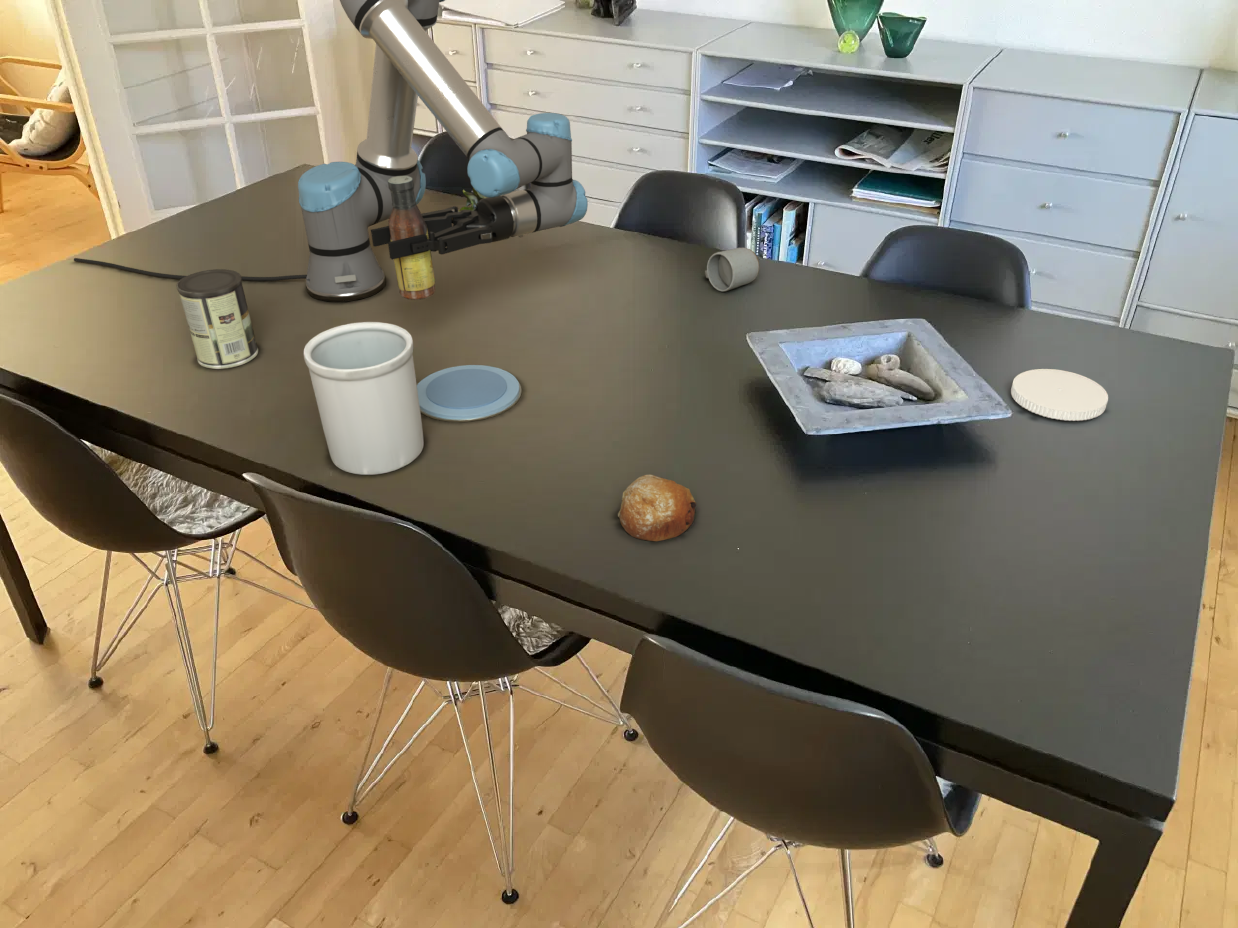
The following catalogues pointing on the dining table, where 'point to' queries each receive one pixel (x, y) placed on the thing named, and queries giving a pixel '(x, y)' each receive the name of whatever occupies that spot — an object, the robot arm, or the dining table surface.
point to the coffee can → (218, 318)
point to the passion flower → (472, 200)
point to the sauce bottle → (403, 224)
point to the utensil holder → (367, 396)
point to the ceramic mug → (732, 268)
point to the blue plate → (467, 393)
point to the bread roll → (656, 508)
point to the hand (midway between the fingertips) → (381, 244)
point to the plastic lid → (1059, 394)
